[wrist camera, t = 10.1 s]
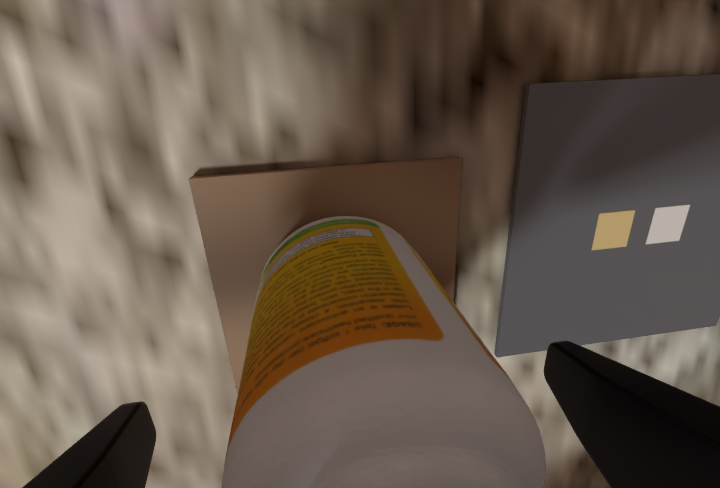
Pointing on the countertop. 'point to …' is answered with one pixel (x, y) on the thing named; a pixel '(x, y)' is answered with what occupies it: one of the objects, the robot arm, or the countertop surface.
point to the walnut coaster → (311, 203)
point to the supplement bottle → (371, 376)
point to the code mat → (613, 213)
